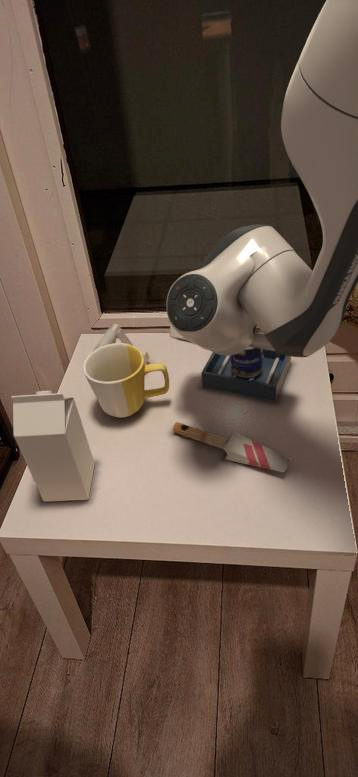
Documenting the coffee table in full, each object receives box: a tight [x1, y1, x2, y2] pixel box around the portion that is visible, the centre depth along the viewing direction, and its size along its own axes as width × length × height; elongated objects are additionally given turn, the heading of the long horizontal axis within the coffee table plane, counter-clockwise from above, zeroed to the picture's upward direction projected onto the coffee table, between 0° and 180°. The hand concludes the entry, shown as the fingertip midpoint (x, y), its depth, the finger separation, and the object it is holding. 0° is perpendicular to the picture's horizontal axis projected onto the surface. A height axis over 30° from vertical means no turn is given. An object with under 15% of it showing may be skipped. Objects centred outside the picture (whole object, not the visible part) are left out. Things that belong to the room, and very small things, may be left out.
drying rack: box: [200, 349, 292, 403], centre depth 98 cm, size 14×11×4 cm
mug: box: [82, 342, 170, 418], centre depth 93 cm, size 14×10×10 cm
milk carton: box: [10, 390, 96, 502], centre depth 79 cm, size 7×7×19 cm
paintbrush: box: [172, 421, 292, 473], centre depth 86 cm, size 4×3×20 cm
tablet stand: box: [92, 323, 150, 365], centre depth 101 cm, size 9×8×8 cm
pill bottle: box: [231, 347, 263, 378], centre depth 95 cm, size 6×6×10 cm
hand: (246, 338), depth 93 cm, fingers open, 8 cm apart
